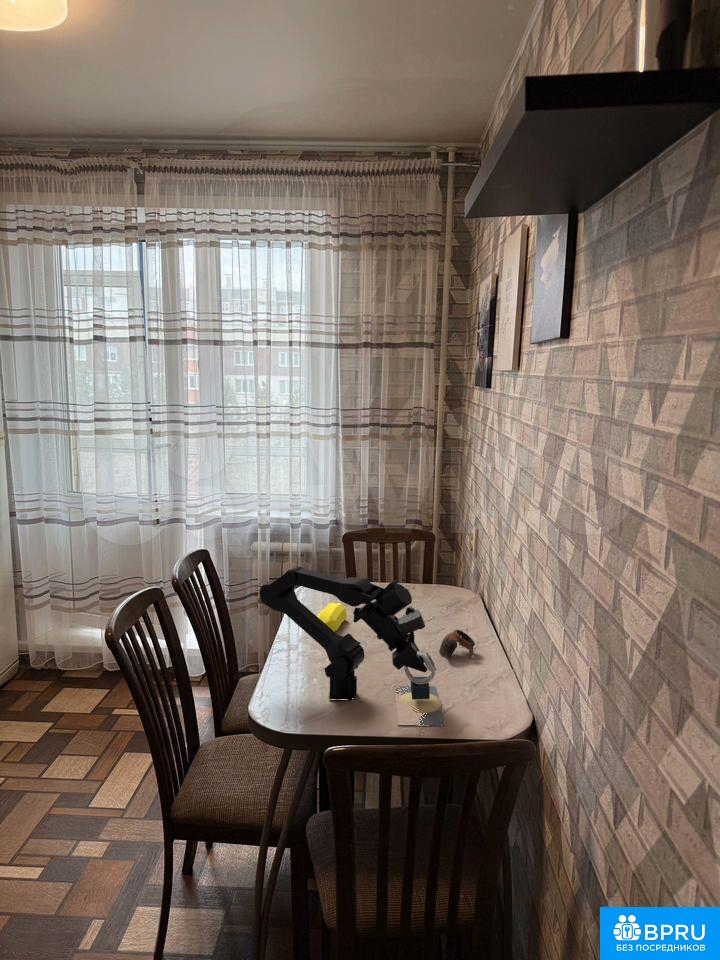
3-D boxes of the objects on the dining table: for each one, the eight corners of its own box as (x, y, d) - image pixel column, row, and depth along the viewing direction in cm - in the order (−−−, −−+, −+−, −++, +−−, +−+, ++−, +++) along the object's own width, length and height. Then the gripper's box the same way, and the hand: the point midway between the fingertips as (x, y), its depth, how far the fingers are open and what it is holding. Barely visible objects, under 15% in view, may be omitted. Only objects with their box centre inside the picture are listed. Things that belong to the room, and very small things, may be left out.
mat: (398, 725, 153) (398, 724, 153) (393, 686, 173) (393, 685, 173) (447, 726, 153) (447, 724, 153) (437, 687, 173) (437, 685, 173)
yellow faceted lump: (349, 618, 224) (327, 616, 226) (349, 599, 223) (327, 597, 225) (334, 638, 207) (311, 635, 208) (334, 617, 206) (311, 615, 207)
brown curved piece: (443, 647, 201) (458, 625, 200) (467, 667, 197) (482, 645, 195) (428, 650, 191) (443, 627, 189) (453, 672, 186) (468, 649, 185)
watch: (437, 699, 161) (437, 657, 159) (404, 699, 161) (404, 658, 159) (435, 687, 167) (435, 647, 165) (403, 688, 167) (403, 648, 165)
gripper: (409, 614, 151) (454, 661, 153) (403, 589, 170) (444, 631, 171) (373, 646, 152) (419, 692, 154) (372, 617, 171) (413, 658, 172)
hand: (425, 666), depth 163 cm, fingers closed on watch, 5 cm apart
